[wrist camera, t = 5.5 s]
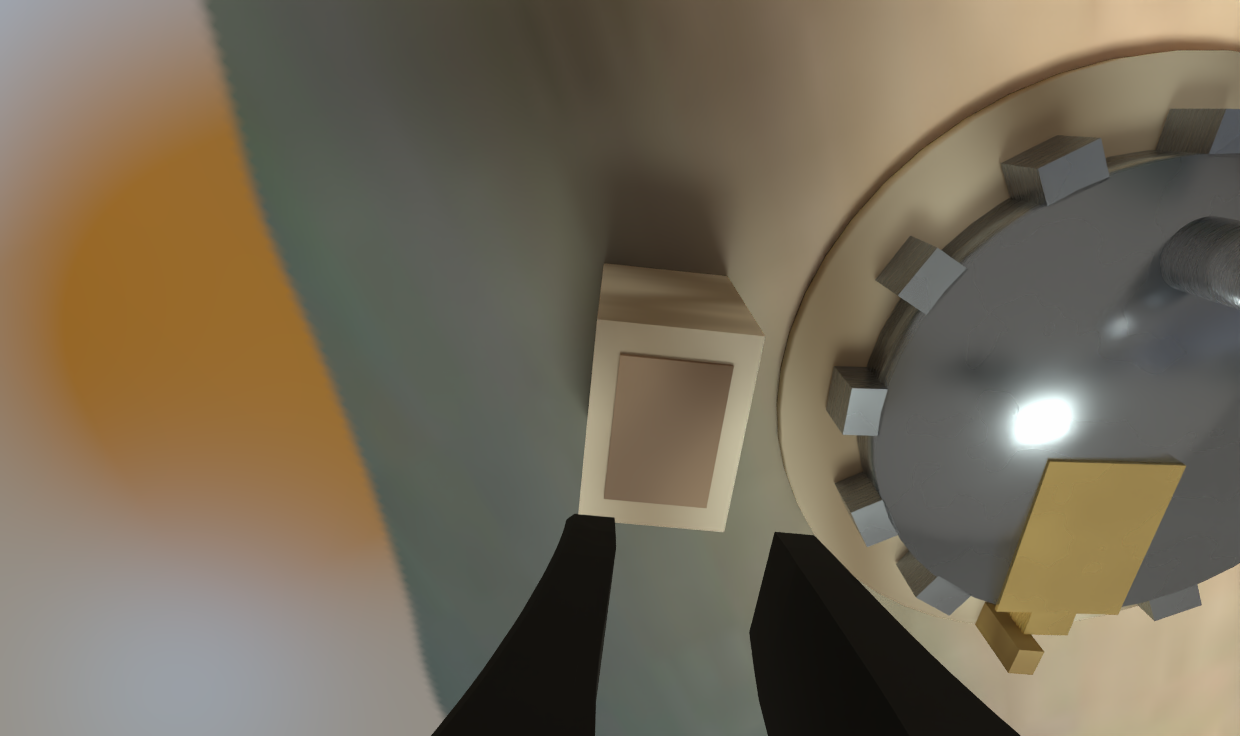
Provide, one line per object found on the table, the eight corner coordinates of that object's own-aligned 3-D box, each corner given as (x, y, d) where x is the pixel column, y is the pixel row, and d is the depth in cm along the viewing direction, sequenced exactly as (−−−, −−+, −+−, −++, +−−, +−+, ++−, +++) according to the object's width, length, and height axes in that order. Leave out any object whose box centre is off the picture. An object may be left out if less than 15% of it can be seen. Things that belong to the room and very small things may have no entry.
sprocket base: (1350, -125, 14) (1506, -175, 11) (1448, 456, 19) (1564, 506, 17) (665, 307, 18) (672, 339, 15) (916, 683, 23) (950, 748, 21)
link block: (727, 275, 17) (766, 337, 13) (699, 430, 19) (724, 535, 15) (603, 262, 17) (596, 320, 12) (588, 420, 19) (577, 521, 14)
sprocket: (1511, 120, 15) (1968, 126, 10) (1241, 605, 21) (1438, 764, 16) (882, 98, 15) (1018, 94, 10) (792, 593, 21) (846, 750, 16)
